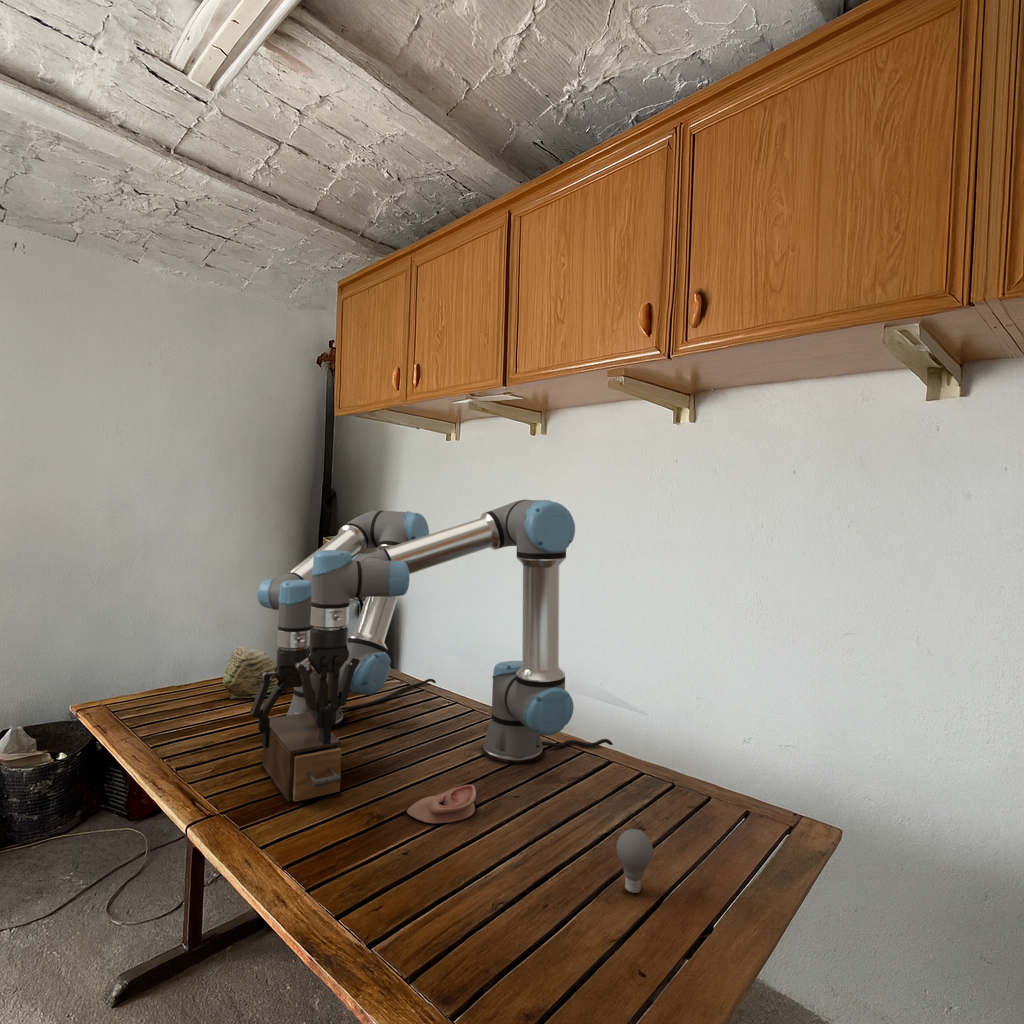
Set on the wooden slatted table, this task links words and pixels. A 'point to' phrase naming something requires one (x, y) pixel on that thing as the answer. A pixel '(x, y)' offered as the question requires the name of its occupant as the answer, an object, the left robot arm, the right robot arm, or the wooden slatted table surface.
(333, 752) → the drawer
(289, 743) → the cabinet
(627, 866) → the light bulb
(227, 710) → the wooden slatted table surface
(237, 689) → the fossil
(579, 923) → the wooden slatted table surface
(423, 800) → the anatomical model
